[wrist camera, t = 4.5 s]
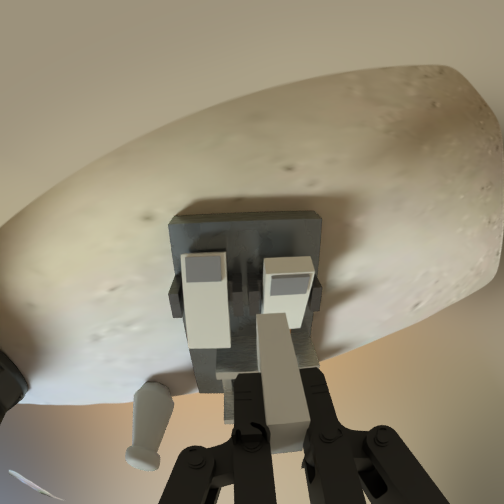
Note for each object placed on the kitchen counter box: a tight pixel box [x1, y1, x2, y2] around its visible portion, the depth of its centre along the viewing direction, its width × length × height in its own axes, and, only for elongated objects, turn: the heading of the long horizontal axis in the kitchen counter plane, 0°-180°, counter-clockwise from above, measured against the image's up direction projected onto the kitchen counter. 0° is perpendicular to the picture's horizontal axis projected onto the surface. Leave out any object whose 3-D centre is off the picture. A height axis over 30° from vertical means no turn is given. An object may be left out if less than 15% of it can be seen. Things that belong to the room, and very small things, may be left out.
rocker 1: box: [181, 252, 231, 349], centre depth 23 cm, size 4×8×2 cm, turn 1°
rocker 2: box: [261, 256, 315, 329], centre depth 23 cm, size 4×8×2 cm, turn 1°
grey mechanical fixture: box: [168, 211, 322, 424], centre depth 26 cm, size 13×22×8 cm, turn 1°
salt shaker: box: [125, 382, 174, 471], centre depth 29 cm, size 6×6×13 cm
